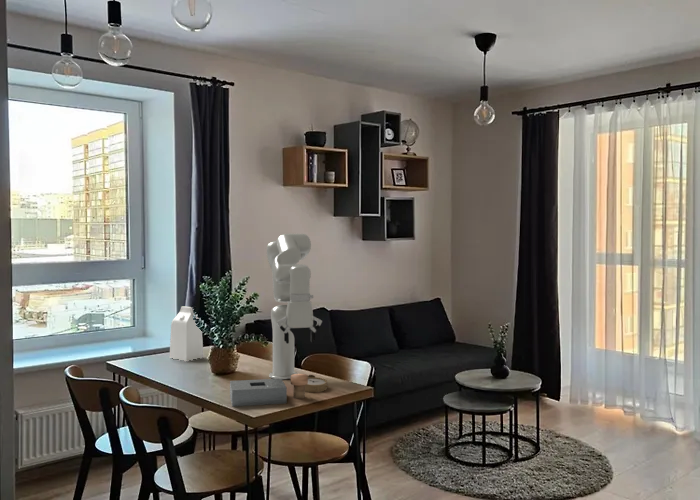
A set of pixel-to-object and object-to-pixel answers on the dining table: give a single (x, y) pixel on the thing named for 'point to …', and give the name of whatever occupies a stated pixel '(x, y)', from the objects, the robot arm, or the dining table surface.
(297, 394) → the peg
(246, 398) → the hitch block
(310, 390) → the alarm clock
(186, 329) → the milk
